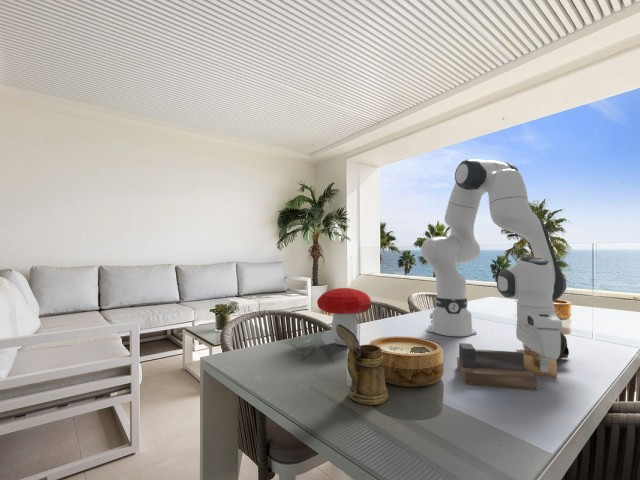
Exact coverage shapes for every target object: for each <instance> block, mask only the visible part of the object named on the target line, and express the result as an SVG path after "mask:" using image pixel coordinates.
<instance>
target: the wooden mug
mask: <svg viewBox="0 0 640 480" xmlns="http://www.w3.org/2000/svg"><path fill="white" fill-rule="evenodd" d="M336 332H337V334H338V336H339V337H340V339H341V340H342V341H343V342H344V343H345V344H346V345H345V346H347V348H349V350H348V353H347V358H346V359H347V360H346V367H347V372H348V373H349V377H350V378H351V384H350V386H349V391H348V397H349V399H351V400H352V401H353V402H355V403H356V404H359V405H364V406H378V405H382V404H384V403H385V402H387V401H388V399H389V392H388V389H387V387H386V379H385V372H384V362H385V361H384V355H383V354H382V348H381V347H380V346H379V345H378V346H377V345H376V344H375V345H374V344H361V345H360V341H359V340H358V337H357V338H356V336H355V335H354V334H353V333H352V332H351V331H350V330H349V329H347V328H346V327H344V326H342V325H340V324H338V325H337V326H336Z"/></svg>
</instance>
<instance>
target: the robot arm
mask: <svg viewBox="0 0 640 480" xmlns="http://www.w3.org/2000/svg"><path fill="white" fill-rule="evenodd" d="M454 181H455V184H454V185H453V188H452V190H451V193H450V196H449V199H448V203H447V207H446V210H445V215H444V222H445V224H446V225H447V227H449V228H450V234H449V236H434V237H430V238H426V239H425V240H424V241H423V242H422V245H421V249H420V251H421V256H422V258H423V259H424V260H425V261H426V262H427V263H428V264H429V266H431V268H432V270H433V273H434V277H435V281H436V297H435V306H436V307H435V308H434V309H433V310H432V312H431V313H430V314H429V319H430V323H429V325H428V326H427V328H426V329H427V330H426V331H427V332H429V333H434V334H437V335H441V336H447V337H468V336H471V335H477V330H475V329H473V322H472V321H473V320H472V319H473V318H472V313H471V311H470V310H468V308H467V307H468V298H467V297H466V296H467V288H466V287H467V286H466V284H467V283H466V278H465V276H463V274H461V273H459V271H458V269H457V267H456V264H466V263H470V262H472V261H476V260H477V259H478V257H479V255H480V254H481V247H480V244H479V242H478V241H477V240H476V238H475V233H474V231H475V230H474V229H475V228H474V227H475V222H476V218H477V214H478V211H479V207H480V204H481V203H480V202H481V201H482V200H481V199H482V197H483V195H484V194H486V193H487V194H488V195H487V196H488V205H489V214H490V218H491V221H492V222H493V224H495V225H496V226H497V227H498V228H500V229H502V230H504V231H507V232H510V233H513V234H515V235H518V236H520V237H522V238H524V239H525V240H526V241H527V242H528V243H529V245H530V247H531V250H532V253H533V257H532V256H527V257H522V258H521V257H520V258H519V259H518V260H517V262H516V264H514V265H513V266H510V267H507V268H503V269H502V270H501V271H500V272H499V273H498V275H497V276H496V287H497V290H498V292H499V293H500V295H502V296H503V297H504V298H506V299H511V300H517V301H516V326H515V327H516V331H515V335H516V339H517V340H518V341H520V342H521V343H522V347H523V350H533V351H534V352H536V353H537V354H538V355H539V358H540V363H538V369H539V370H540V371H541V372H548V365H549V363H550V359H557V360H559V359H558V358H559V356H560V347H561V336H560V332H561V331H560V330H562V329H563V321H562V320H561V319H560V318H559V316H558V315H557V313H556V312H555V304H554V302H555V301H558V299H560V298H561V297H562V296H563V295H564V293H565V291H566V290H567V281H566V278H565V275H564V274H563V272H562V270H561V268H560V266H559V264H558V261H557V258H556V255H555V251H554V249H553V246H552V242H551V240H550V237H549V234H548V231H547V229H546V226H545V223H544V221H543V220H542V219H541V218H539V217H538V216H536V214H535V213H534V212H533V210H532V208H531V206H530V203H529V196H528V192H527V188H526V184H525V182H524V178H523V176H522V174H521V173H520V172H519V169H518V168H517V167H516V166H515V165H514V164H511V163H508V162H501V161H497V160H493V159H492V160H491V159H489V160H487V159H486V160H485V159H474V158H470V159H465V160H463V161H461V162H460V163H459V164H458V166H457V167H456V169H455V172H454Z"/></svg>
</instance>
